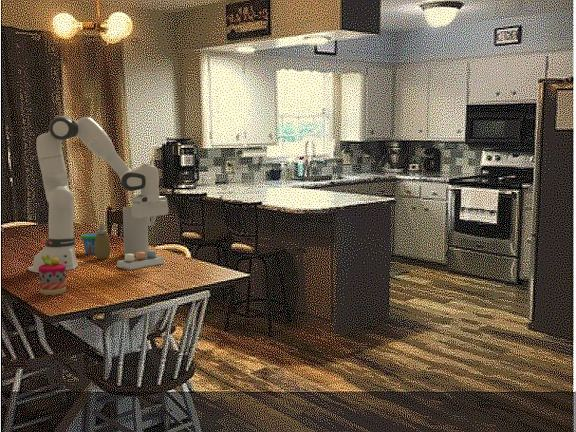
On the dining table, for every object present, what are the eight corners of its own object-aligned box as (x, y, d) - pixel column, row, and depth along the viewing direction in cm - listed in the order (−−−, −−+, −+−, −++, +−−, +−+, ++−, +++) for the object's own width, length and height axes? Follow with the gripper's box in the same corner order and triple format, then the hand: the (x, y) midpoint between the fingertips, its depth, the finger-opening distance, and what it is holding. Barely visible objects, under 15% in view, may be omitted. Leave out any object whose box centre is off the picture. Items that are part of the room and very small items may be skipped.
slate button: (150, 258, 310) (150, 251, 309) (144, 256, 313) (144, 250, 312) (157, 256, 313) (157, 250, 313) (152, 255, 316) (152, 249, 315)
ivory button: (128, 261, 300) (128, 255, 299) (122, 260, 303) (122, 254, 302) (136, 260, 303) (135, 254, 303) (130, 259, 306) (130, 253, 306)
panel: (129, 270, 297) (129, 263, 297) (117, 267, 304) (117, 260, 303) (163, 263, 313) (163, 257, 312) (150, 260, 319) (150, 255, 319)
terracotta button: (139, 259, 305) (139, 253, 304) (134, 258, 308) (133, 252, 307) (147, 258, 308) (146, 252, 308) (141, 257, 311) (141, 251, 311)
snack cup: (77, 252, 340) (76, 233, 339) (96, 250, 347) (95, 231, 346) (88, 256, 328) (88, 237, 327) (108, 254, 335) (107, 235, 334)
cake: (70, 289, 260) (69, 253, 258) (62, 295, 250) (60, 258, 248) (44, 289, 260) (43, 253, 258) (35, 295, 249) (33, 258, 247)
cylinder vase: (134, 257, 328) (133, 209, 324) (119, 254, 335) (117, 207, 332) (153, 254, 338) (152, 207, 334) (137, 251, 345) (136, 205, 342)
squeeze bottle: (106, 260, 320) (105, 224, 318) (91, 259, 322) (90, 224, 320) (113, 257, 328) (112, 222, 326) (99, 256, 330) (98, 222, 328)
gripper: (162, 195, 319) (163, 222, 321) (129, 198, 303) (129, 226, 305) (171, 196, 315) (171, 223, 317) (137, 199, 299) (137, 228, 301)
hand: (150, 225), depth 311 cm, fingers closed
